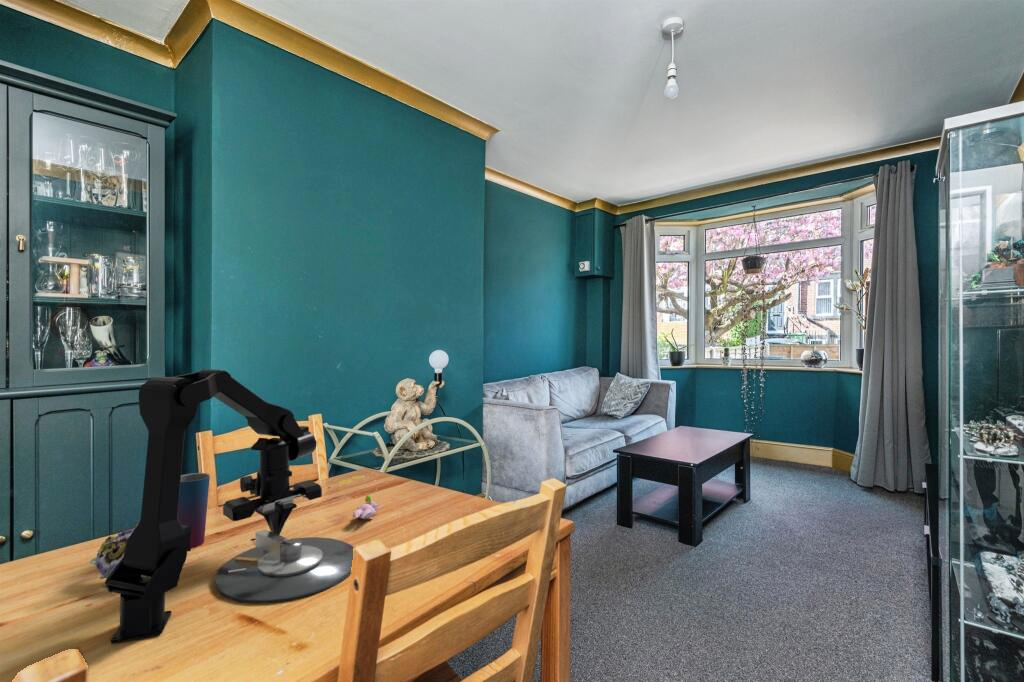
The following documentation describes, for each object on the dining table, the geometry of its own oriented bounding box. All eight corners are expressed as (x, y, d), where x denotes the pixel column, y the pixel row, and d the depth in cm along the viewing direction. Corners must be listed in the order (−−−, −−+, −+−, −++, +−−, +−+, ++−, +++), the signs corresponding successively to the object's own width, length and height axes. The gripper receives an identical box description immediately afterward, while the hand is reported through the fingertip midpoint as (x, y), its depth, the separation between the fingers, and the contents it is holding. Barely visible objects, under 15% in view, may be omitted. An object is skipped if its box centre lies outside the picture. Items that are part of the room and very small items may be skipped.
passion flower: (109, 614, 91) (69, 563, 90) (160, 576, 102) (124, 530, 101) (146, 588, 88) (105, 536, 88) (195, 552, 99) (158, 504, 98)
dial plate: (363, 587, 92) (364, 581, 92) (202, 615, 82) (202, 608, 82) (352, 535, 116) (353, 530, 116) (227, 551, 106) (227, 546, 106)
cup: (191, 552, 105) (192, 482, 105) (164, 548, 107) (165, 480, 107) (216, 539, 112) (217, 474, 112) (190, 536, 113) (191, 471, 113)
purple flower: (360, 513, 134) (345, 525, 119) (362, 490, 135) (347, 499, 120) (383, 513, 134) (371, 525, 120) (384, 490, 135) (373, 499, 121)
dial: (335, 558, 101) (335, 540, 101) (280, 582, 91) (280, 562, 90) (285, 539, 110) (286, 522, 110) (231, 558, 100) (231, 540, 100)
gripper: (299, 451, 117) (300, 515, 118) (212, 469, 103) (213, 542, 104) (322, 460, 110) (323, 528, 111) (233, 480, 96) (234, 558, 96)
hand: (275, 538), depth 106 cm, fingers closed
